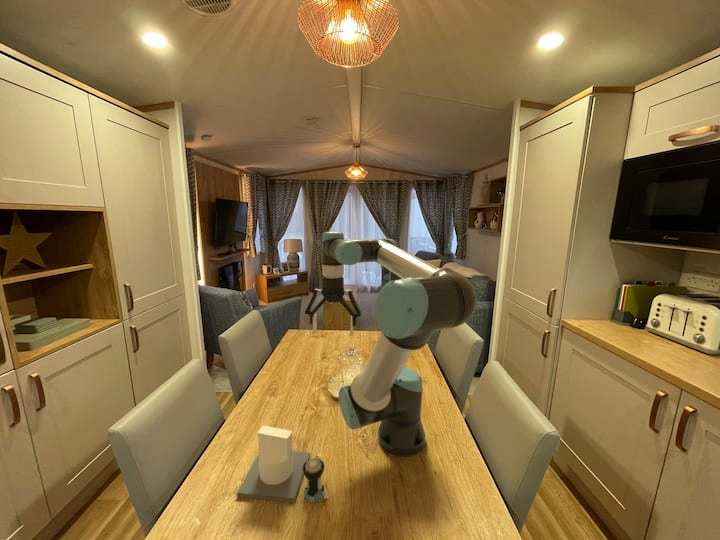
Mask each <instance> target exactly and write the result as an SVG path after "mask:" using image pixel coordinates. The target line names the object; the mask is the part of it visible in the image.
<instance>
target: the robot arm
mask: <svg viewBox="0 0 720 540" xmlns="http://www.w3.org/2000/svg"><path fill="white" fill-rule="evenodd" d="M344 235H345V234H344V232H341V231H326V232H325V231H324V232H323V233H322V236H321V255H322V256H321V261H322V262H321V263H322V265H321V267H322V269H321V273H322V277H321V280H322V281H321V282H322V285H321V286H322V287H321V289H319V288H318V287H316V288H315V289H313V293H312V297H311V299H310V301H309V303H308V305H307V307H306V309H305V310H304V314H305V315H309V323H310V325H312V335H315V334H316V333H317V330H318V329H317V327H318V326H317V325H318V323H317V321H318V319H317V316H318V315H317V314H316V312H317V311H318V310H319V309H320V308H321V307H322V306H323V305H324V303H326V302H327V303H340V304H341V305H342V306H343V308H344V309H345V310H346V311H347V313H348V314H349V315H350V327H349V328H350V330H349V332H350V335H349V336H351V337H352V336H353V335H354V327H356V326H357V318H358V317H361V316H362V311H361V309H360V307H359V304H358V302H357V300H356V298H355V296H354V293H353V289H347V290H345V288H344V287H345V285H344V284H345V281H344V280H345V279H344V278H345V277H344V276H345V272H344V271H345V269H344V265H345V266H354V265H356V264H358V263H359V264H360V263H378V264H379V265H381V266H382V267H384V268H385V269H387V270H388V271H390V272H391V273H393V274H394V275H396V276H397V277H399V278H400V279H395V280H391V281H389V282H387V283H386V284H384V285H383V286H382V288H380V290H379V292H378V293H377V297H376V299H375V305H374V306H375V307H376V309H375V310H374V313H375V320H376V324H377V326H378V329H379V330H380V334H379V336H378V338H377V340H376V342H375V345H374V347H373V349H372V351H371V354H370V356H369V358H368V359H367V362H366V364H365V365H364V369H363V370H362V372H360V373H358V374H357V375H356V376H354V378H353V379H352V380H351V383H350V385H347V386H346V385H344V386H343V387H340V388H339V390H338V402H339V407H340V411H341V414H342V417H343V420H344V421H345V425H347V427H348V428H349V429H351V430H357V429H362V428H364V427H367V426H369V425H372V424H376V423H378V422H380V423H379V426H378V430H377V439H378V443H379V445H381V447H382V448H383V449H384V450H385V451H387V452H389V453H391V454H394V455H397V456H403V457H405V456H406V457H408V456H412V455H413V456H414V455H416V454H418V453H419V452H421V451H422V450H423V449H424V447H425V444H426V432H425V429H424V425H423V421H422V419H421V417H422V416H421V415H422V399H423V391H424V389H423V378H422V376H421V375H420V374H419V373H418V372H417V371H416V370H414V369H412V368H409V367H405V366H406V365H407V363H408V361H409V359H410V357H411V356H412V354H413V353H414V351H417V350H418V351H419V350H421V349H422V348H424V347H425V346H426V345H427V343H428V342H429V340H430V339H431V337H432V336H433V334H434V333H435V332H437V331H441V330H447V329H448V330H449V329H452V328H453V329H454V328H457V327H459V326H461V325H464V324H466V322H468V321H469V320H470V319H471V318H472V317H473V315H474V313H475V311H476V308H477V305H478V304H477V302H478V298H477V292H476V289H475V287H474V285H473V284H472V283H471V281H470V280H469V279H468V278H467V277H465V276H464V275H463V274H461V273H459V272H457V271H455V270H453V269H451V268H448V267H438V266H436V265H433V264H432V263H429V262H428V261H426V260H424V259H422V258H420V257H418V256H416V255H414V254H412V253H410V252H408V251H406V250H404V249H402V248H400V247H399V245H398V243H397V241H396V240H394V239H392V238H375V239H374V238H372V239H371V238H367V239H345V236H344ZM320 294H321V296H322V297H323V298H322V299H321V300H320V301H319V303H318V304H317V305H316V306H315V307H314V308H313V310H311V309H312V307H313V305H314V303H315V302H316V300H317V297H318V296H320ZM345 295H346V296H347V297H348V298H349V301H350V303H351V305H352V306H351V305H350V304H349V303H348V302H347V300H346V298H344V296H345ZM352 307H353V308H354V309H353V308H352Z"/></svg>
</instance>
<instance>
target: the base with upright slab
mask: <svg viewBox="0 0 720 540" xmlns="http://www.w3.org/2000/svg"><path fill="white" fill-rule="evenodd" d="M257 438H258V440H257V441H258V454H259V474H260V479H261V480H262V481H263V482H264V483H266V484H269V485H276V484H279V483H282V482H284V481H286V480H287V479H288V478H289V477H290V476H291V474H292V472H293V451H294V447H293V431H292V430H289V429H283V428H278V427H273V426H268V425H263V426H261V428H260V429H259V430H258V432H257Z"/></svg>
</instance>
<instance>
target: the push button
mask: <svg viewBox="0 0 720 540" xmlns="http://www.w3.org/2000/svg"><path fill="white" fill-rule="evenodd" d="M324 470H325V463H324V461H323V460H321V459H319V458H317V457H311V458H309V460H308V461H306V462H305V463H304V465H303V473H304V476H303V477H305V478H306V485H305V487H304V490H303V500H306V501H310V503H316V502H323V500H324V499H330V497H331V496H330V493H331V492H329V491H325V486H324V485H322V476H323V474H324Z"/></svg>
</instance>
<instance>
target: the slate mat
mask: <svg viewBox="0 0 720 540" xmlns="http://www.w3.org/2000/svg"><path fill="white" fill-rule="evenodd" d="M310 457H311V453H310V452H306V451H296V450H295V451H294V450H293V472H292V474H291V476H290V477H289V478H288V479H287V480H286V481H284V482H282V483H279V484H276V485H269V484H266V483H264V482H263V481H262V480H261V479H260V474H259V453H258V454H257V456H256V457H255V459H254V460H253V463H252V464H251V466H250V468H249V470H248V472H247V473H246V475H245V477H244V479H243V481H242V483H241V484H240V487H239V489H238V490H237V492H236V496H237V497H238V498H249V499H257V500H268V501H278V502H285V503H286V502H287V503H295V502H296V500H297V497H298V493H299V490H300V487H301V484H302V483H303V478H304V477H305V476H304V473H303V465H304V463H305V462H306V461H308V460H309V459H311V458H310Z"/></svg>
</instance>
